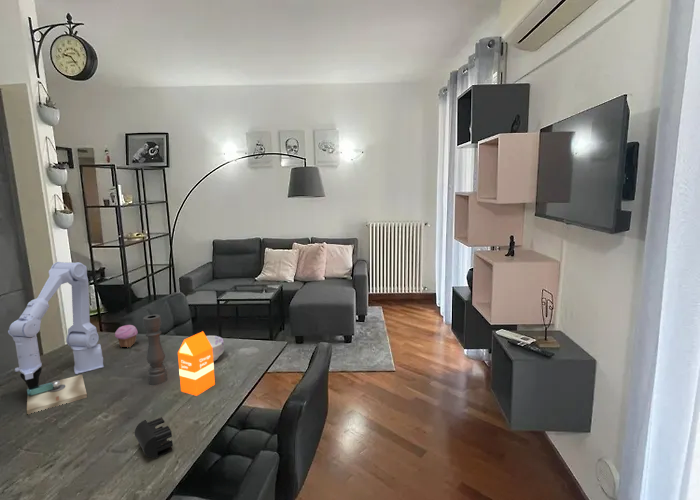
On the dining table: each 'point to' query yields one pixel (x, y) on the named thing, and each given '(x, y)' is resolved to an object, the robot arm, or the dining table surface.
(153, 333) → the candle holder
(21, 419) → the dining table surface
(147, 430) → the end cap
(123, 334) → the cupcake
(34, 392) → the teal rounded rod
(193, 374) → the orange juice
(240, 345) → the dining table surface
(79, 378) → the latch board
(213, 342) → the paper bowls
